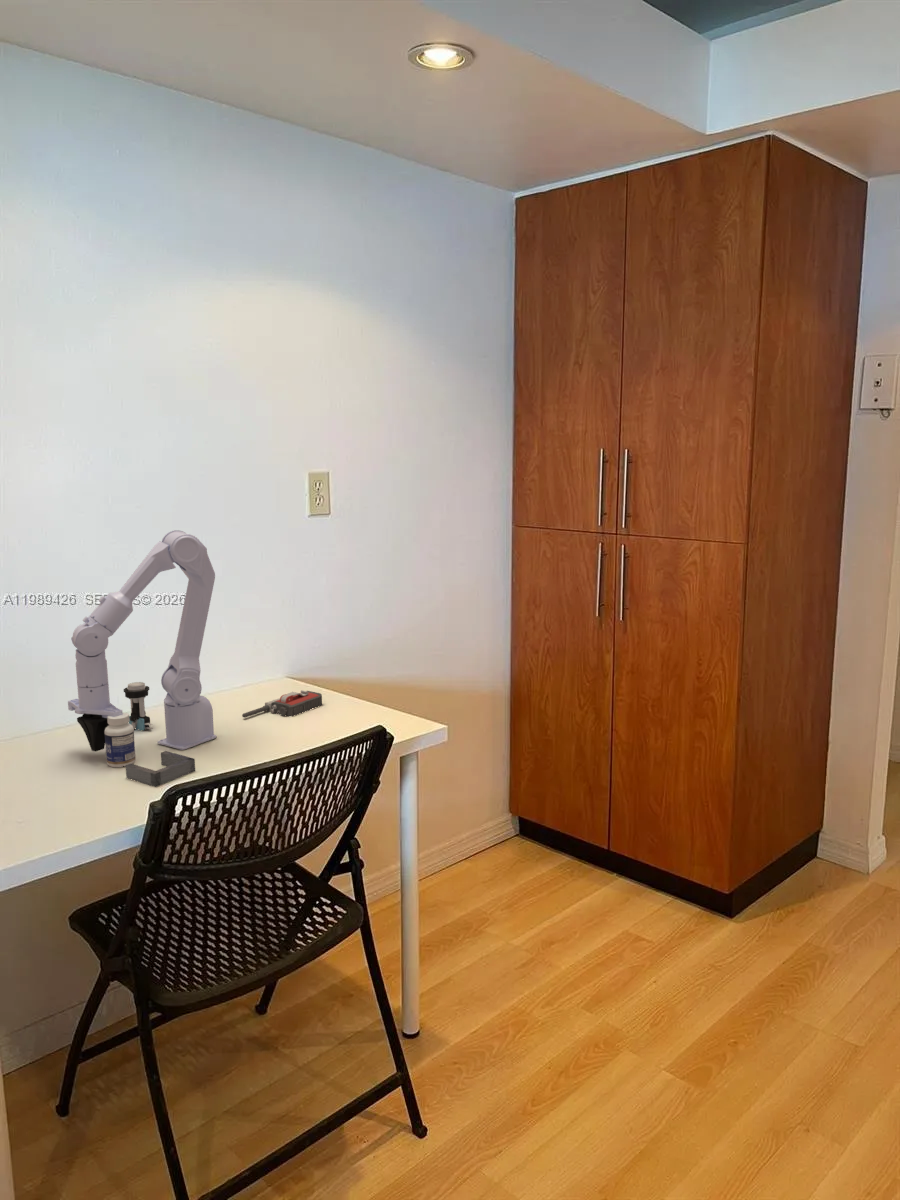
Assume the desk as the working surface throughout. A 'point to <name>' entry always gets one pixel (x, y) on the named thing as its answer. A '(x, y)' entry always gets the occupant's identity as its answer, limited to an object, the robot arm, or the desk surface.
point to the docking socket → (162, 770)
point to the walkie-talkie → (290, 704)
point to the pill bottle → (119, 741)
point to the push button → (138, 705)
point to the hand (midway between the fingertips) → (98, 749)
